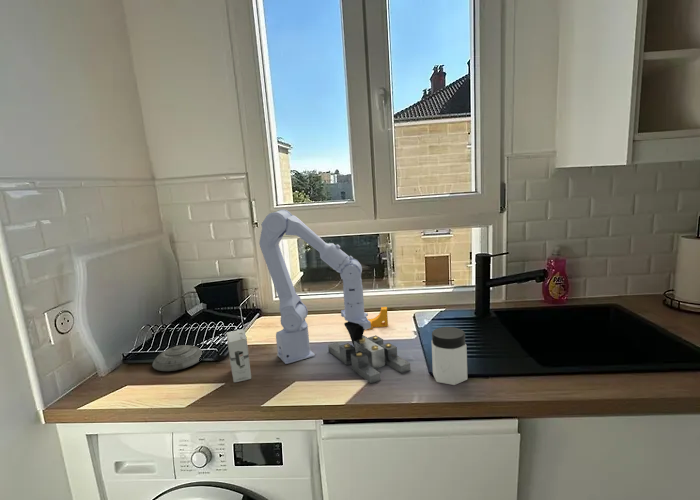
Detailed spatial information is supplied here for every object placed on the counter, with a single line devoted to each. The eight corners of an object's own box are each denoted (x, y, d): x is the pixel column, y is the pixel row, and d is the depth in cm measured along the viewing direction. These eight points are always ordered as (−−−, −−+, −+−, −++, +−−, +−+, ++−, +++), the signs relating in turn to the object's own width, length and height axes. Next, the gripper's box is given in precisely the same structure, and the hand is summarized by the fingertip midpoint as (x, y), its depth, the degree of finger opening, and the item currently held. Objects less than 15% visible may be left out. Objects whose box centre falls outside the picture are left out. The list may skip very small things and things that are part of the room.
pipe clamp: (353, 331, 144) (352, 313, 143) (353, 326, 148) (352, 309, 147) (388, 328, 144) (387, 310, 142) (387, 324, 148) (386, 306, 147)
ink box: (230, 370, 120) (225, 331, 118) (247, 366, 122) (243, 328, 120) (233, 383, 112) (228, 342, 110) (252, 379, 114) (247, 338, 112)
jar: (427, 381, 106) (425, 336, 103) (437, 367, 112) (436, 325, 110) (463, 387, 101) (461, 341, 99) (471, 373, 108) (470, 329, 106)
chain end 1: (346, 365, 118) (345, 348, 117) (328, 351, 128) (327, 336, 127) (384, 353, 123) (383, 338, 123) (363, 341, 134) (362, 326, 133)
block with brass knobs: (372, 369, 114) (371, 350, 113) (355, 356, 123) (353, 339, 122) (385, 365, 116) (383, 346, 115) (366, 353, 125) (365, 335, 124)
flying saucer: (207, 350, 137) (205, 334, 136) (202, 370, 122) (199, 352, 121) (159, 357, 134) (156, 341, 133) (147, 378, 119) (144, 361, 118)
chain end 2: (370, 383, 106) (369, 365, 105) (351, 369, 115) (350, 352, 114) (410, 370, 112) (409, 352, 111) (389, 357, 121) (388, 341, 120)
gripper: (378, 304, 117) (381, 349, 120) (353, 293, 130) (356, 334, 132) (356, 309, 114) (360, 356, 117) (333, 298, 127) (337, 340, 129)
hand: (357, 345), depth 124 cm, fingers closed
